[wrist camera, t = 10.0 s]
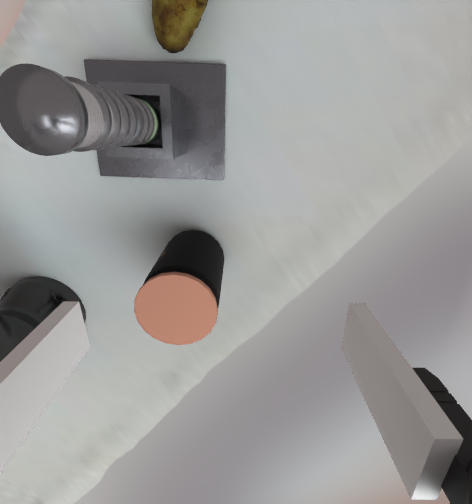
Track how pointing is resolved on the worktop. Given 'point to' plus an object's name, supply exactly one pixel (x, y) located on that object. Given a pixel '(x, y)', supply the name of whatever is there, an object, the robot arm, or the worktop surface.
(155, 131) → the column
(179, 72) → the stand
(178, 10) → the potato
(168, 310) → the coffee jar
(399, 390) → the robot arm
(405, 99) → the worktop surface
